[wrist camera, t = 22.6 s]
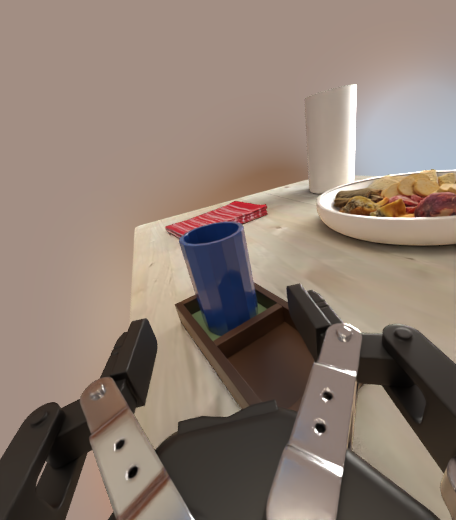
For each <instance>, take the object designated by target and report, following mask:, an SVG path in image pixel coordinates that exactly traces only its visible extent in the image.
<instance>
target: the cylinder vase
mask: <svg viewBox="0 0 456 520" xmlns="http://www.w3.org/2000/svg"><path fill="white" fill-rule="evenodd" d="M356 91H357V85H356V84H354V85H347V86H343V87H338V88H335V89H331V90H327V91H324V92H320V93H317V94H315V95H312V96H309V97H307V98H305V117H306V136H307V155H308V173H309V190H310V191H311V192H312V193H317V194H323V193H324V192H326V191H328V190H330V189H332V188H335V187H338V186H341V185H344V184H348V183H352V182H354V167H355V128H356V127H355V126H356Z"/></svg>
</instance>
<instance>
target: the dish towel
mask: <svg viewBox="0 0 456 520" xmlns="http://www.w3.org/2000/svg"><path fill="white" fill-rule="evenodd" d="M266 208H267V206H266V204H264V205H256V204H251V203H244V202H239V201H234V202H232V203H230V204H228V205H226V206H223V207H220V208H218V209H216V210H213V211H210V212H207V213H204V214H202V215H199V216H197V217H194V218H191V219H188V220H186V221H182V222H179V223H175V224H172V225H169V226H166V227H165V228H166V230H167V231H168V232H170V233H171V234H173V235H175V236H177V237H178V238H180V237H181V236H182V235H184V234H185V233H186V232H188V231H190V230H192V229H194V228H197V227H200V226H203V225H207V224H211V223H215V222H223V221H234V222H238V223H241V224H243V223H246V222H249V221H252V220H254V219H257V218H259V217H262V216H264V215H267V210H266Z"/></svg>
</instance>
